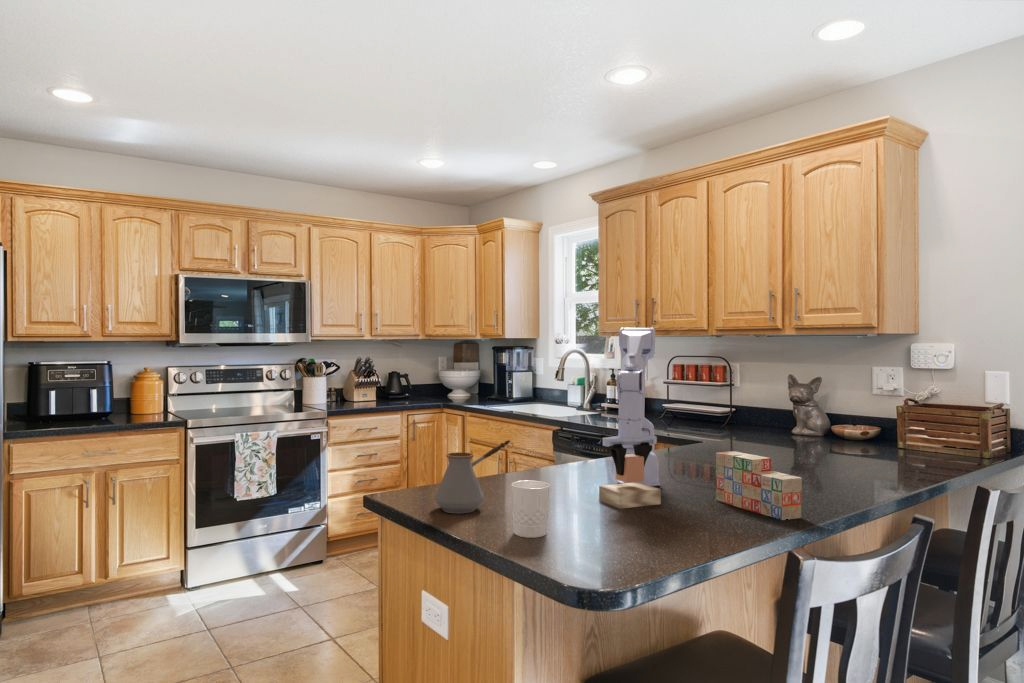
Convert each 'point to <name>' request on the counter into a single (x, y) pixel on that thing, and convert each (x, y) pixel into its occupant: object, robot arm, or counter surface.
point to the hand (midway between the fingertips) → (629, 474)
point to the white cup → (530, 508)
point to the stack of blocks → (757, 485)
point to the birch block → (629, 495)
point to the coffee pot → (462, 483)
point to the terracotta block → (632, 469)
